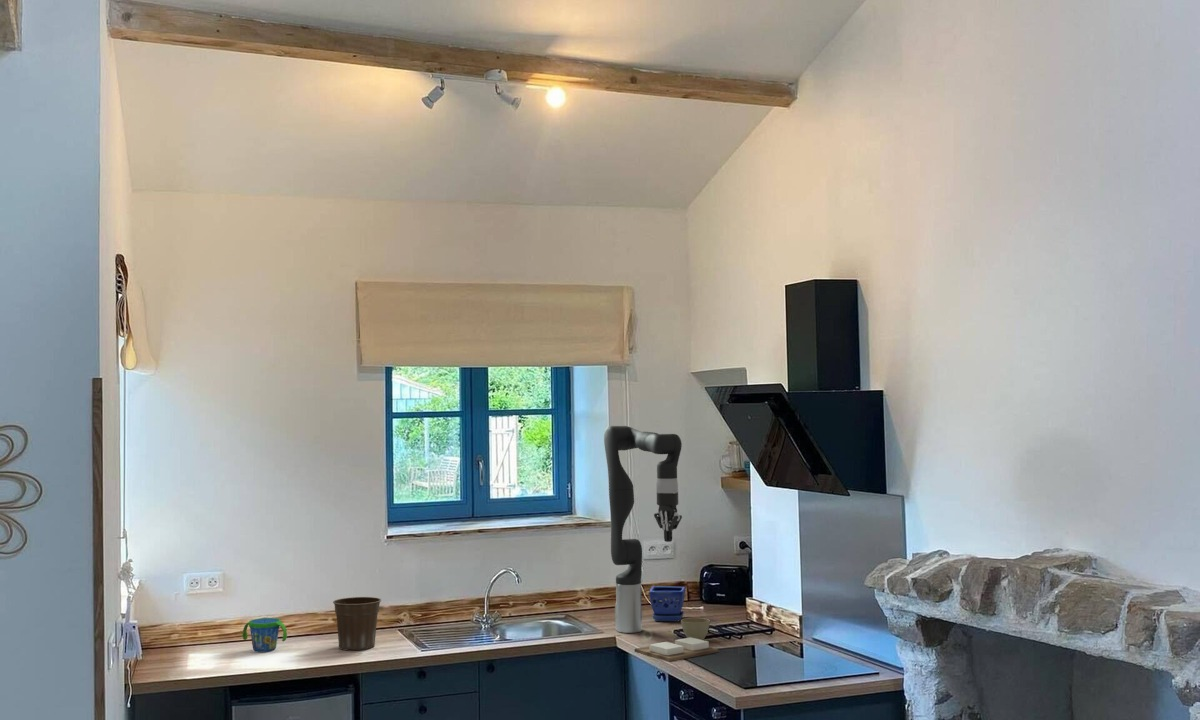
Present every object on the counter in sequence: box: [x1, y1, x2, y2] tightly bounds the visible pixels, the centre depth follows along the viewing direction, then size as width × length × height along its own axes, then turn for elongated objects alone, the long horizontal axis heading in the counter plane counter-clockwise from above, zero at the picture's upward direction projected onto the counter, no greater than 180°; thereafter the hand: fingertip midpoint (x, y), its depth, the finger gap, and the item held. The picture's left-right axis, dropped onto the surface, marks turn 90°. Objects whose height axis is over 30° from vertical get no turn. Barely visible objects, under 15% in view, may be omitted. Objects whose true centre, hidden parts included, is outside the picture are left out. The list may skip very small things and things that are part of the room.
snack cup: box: [242, 617, 288, 653], centre depth 359 cm, size 16×10×10 cm
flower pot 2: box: [680, 617, 711, 641], centre depth 363 cm, size 10×10×7 cm
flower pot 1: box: [649, 585, 686, 622], centre depth 404 cm, size 13×13×12 cm
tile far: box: [674, 637, 710, 651], centre depth 348 cm, size 2×7×9 cm
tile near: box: [648, 641, 684, 656], centre depth 342 cm, size 2×7×9 cm
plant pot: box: [332, 596, 382, 651], centre depth 362 cm, size 16×16×16 cm
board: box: [634, 641, 719, 662], centre depth 346 cm, size 18×21×1 cm
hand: (668, 541), depth 362 cm, fingers closed
